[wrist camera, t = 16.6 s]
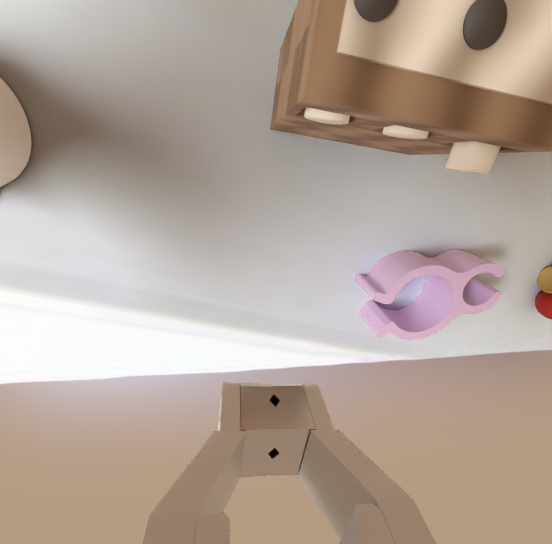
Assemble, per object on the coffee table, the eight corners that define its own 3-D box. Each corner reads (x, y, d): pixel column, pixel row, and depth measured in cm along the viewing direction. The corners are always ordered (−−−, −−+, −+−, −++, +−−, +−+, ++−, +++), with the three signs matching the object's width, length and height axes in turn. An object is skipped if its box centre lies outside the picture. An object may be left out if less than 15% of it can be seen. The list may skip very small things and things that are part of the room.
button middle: (375, 133, 25) (396, 129, 21) (388, 81, 23) (413, 68, 20) (410, 140, 25) (436, 137, 22) (426, 89, 24) (456, 78, 20)
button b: (436, 166, 26) (464, 167, 23) (452, 120, 25) (484, 114, 22) (468, 172, 27) (500, 174, 24) (485, 127, 26) (522, 123, 22)
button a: (300, 118, 23) (309, 111, 20) (309, 62, 22) (321, 45, 19) (339, 126, 24) (355, 120, 21) (350, 72, 23) (369, 57, 19)
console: (270, 128, 35) (306, 94, 16) (280, 48, 32) (338, -106, 13) (409, 154, 39) (571, 150, 20) (431, 84, 36) (645, 1, 17)
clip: (470, 232, 45) (508, 244, 38) (465, 297, 50) (498, 317, 43) (352, 262, 44) (371, 280, 38) (360, 325, 49) (378, 350, 43)
